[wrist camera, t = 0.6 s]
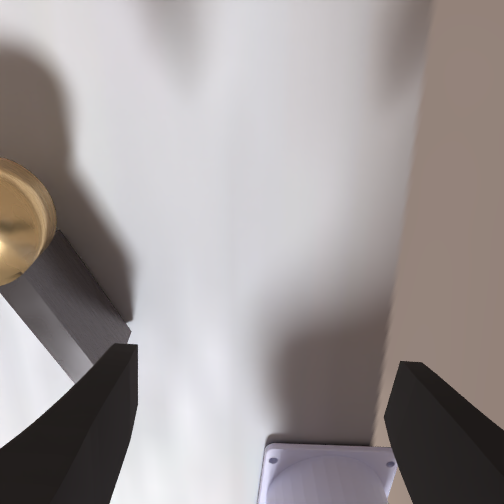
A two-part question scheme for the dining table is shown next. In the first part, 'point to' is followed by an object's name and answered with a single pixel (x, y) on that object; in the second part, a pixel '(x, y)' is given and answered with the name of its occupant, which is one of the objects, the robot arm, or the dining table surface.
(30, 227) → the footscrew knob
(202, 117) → the dining table surface
